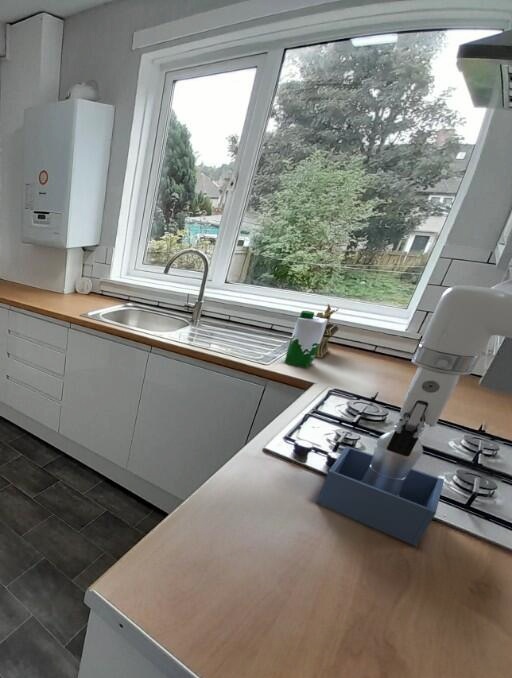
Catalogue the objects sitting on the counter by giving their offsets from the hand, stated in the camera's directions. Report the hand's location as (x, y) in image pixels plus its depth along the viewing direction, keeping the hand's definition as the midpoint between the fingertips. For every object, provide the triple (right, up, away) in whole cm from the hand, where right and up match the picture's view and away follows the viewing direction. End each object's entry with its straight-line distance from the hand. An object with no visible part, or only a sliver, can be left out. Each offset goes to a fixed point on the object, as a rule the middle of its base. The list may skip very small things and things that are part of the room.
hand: (401, 445), depth 78 cm
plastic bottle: (0, -14, +6) cm, 15 cm away
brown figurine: (+56, +25, +95) cm, 113 cm away
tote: (0, -14, +6) cm, 15 cm away
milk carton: (+40, +20, +81) cm, 93 cm away
